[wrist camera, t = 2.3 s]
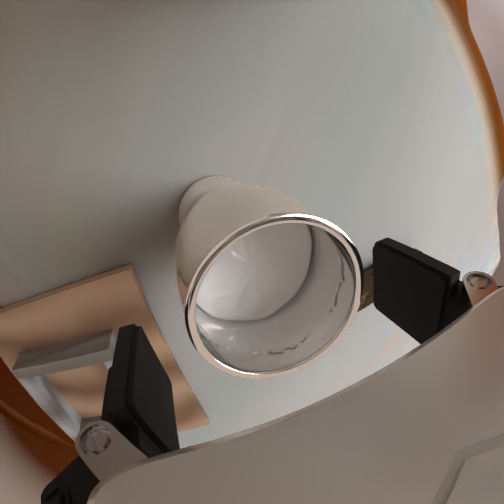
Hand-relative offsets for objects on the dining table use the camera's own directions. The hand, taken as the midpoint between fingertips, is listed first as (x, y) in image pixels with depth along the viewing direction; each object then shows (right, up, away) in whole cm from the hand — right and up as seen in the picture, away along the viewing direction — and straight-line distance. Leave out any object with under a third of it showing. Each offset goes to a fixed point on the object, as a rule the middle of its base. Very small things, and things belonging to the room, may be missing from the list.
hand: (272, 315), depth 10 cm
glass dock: (-18, -11, +15) cm, 26 cm away
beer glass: (-4, +6, +13) cm, 15 cm away
